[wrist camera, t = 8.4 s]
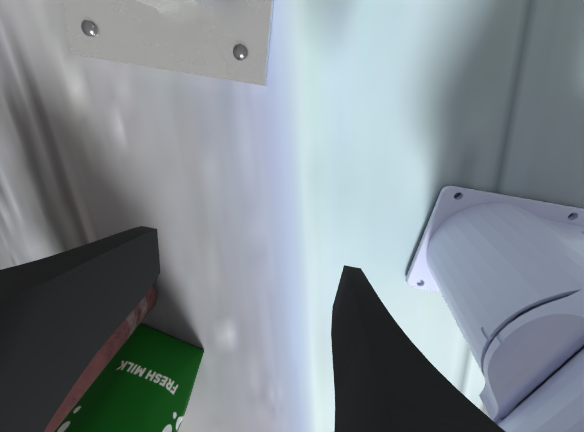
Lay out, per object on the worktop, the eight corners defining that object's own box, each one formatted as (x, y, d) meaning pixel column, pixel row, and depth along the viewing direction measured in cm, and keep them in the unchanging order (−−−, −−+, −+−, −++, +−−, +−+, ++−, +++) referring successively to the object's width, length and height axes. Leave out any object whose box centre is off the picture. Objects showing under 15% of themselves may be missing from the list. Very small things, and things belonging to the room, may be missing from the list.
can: (79, 263, 25) (-169, 443, 13) (136, 247, 24) (-83, 434, 11) (116, 314, 28) (-63, 510, 15) (171, 303, 26) (22, 510, 13)
